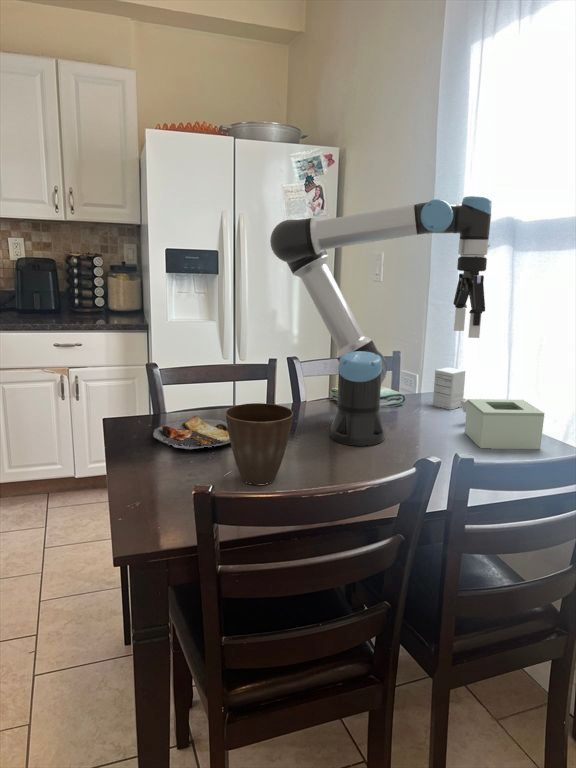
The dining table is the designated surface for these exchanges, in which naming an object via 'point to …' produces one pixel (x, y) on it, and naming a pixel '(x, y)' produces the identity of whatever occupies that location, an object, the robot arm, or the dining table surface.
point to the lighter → (464, 404)
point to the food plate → (195, 424)
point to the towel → (381, 397)
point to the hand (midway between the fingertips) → (466, 334)
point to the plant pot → (258, 439)
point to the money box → (504, 424)
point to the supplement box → (448, 388)
